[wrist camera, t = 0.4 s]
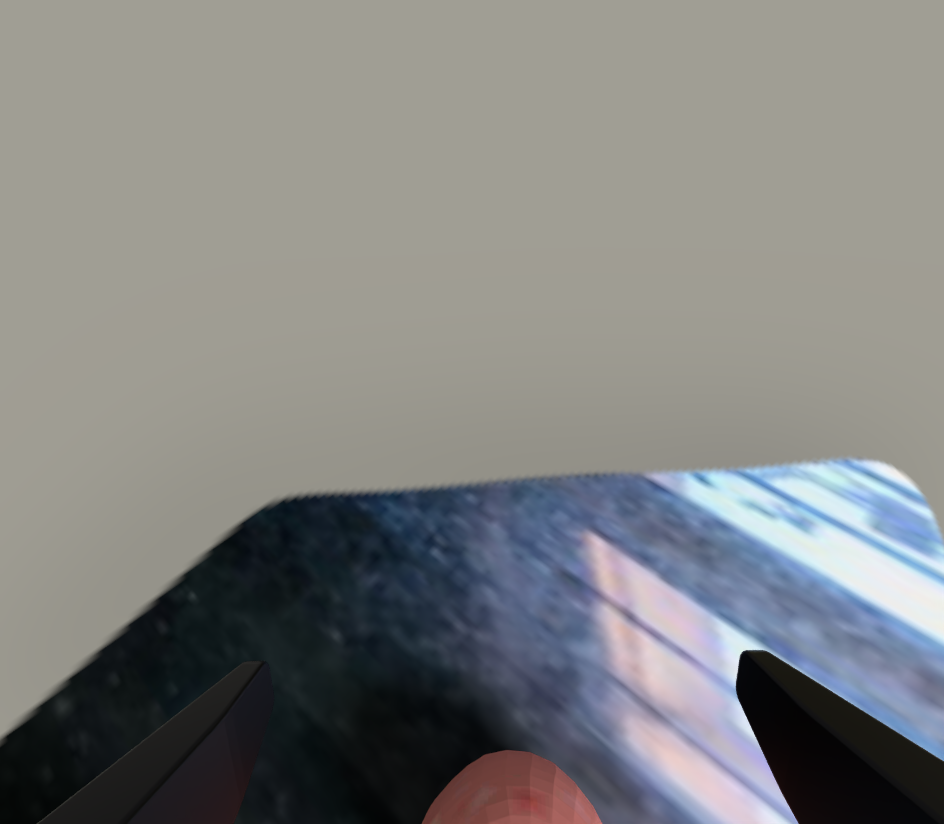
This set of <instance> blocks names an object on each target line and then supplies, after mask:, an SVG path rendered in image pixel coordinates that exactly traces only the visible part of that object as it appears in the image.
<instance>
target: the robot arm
mask: <svg viewBox="0 0 944 824" xmlns="http://www.w3.org/2000/svg"><path fill="white" fill-rule="evenodd" d="M736 692H737V696H738V699H739V702H740V704H741V706H742V708H743V711H744V713H745V715H746V717H747V719H748V721H749V724H750V726H751V728H752V730H753V732H754V734H755V737H756V739H757V741H758V743H759V745H760V747H761V750H762V752H763V754H764V756H765V758H766V760H767V763H768V765H769V767H770V769H771V771H772V773H773V776H774V778H775V780H776V782H777V784H778V786H779V788H780V790H781V792H782V794H783V796H784V798H785V800H786V801H787V803H788V805H789V807H790V809H791V811H792V812H793V814H794V816H795V818H796V820H797V821H798V823H799V824H944V761H942V760H941V759H939V758H938V757H936V756H934V755H933V754H931V753H930V752H928V751H926V750H925V749H923V748H922V747H920V746H918V745H917V744H915V743H913V742H912V741H910V740H909V739H907V738H905V737H904V736H902V735H901V734H899V733H897V732H896V731H894V730H893V729H891V728H889V727H888V726H886V725H885V724H883V723H881V722H880V721H878V720H877V719H875V718H873V717H872V716H870V715H869V714H867V713H865V712H864V711H862V710H861V709H859V708H857V707H856V706H854V705H853V704H851V703H849V702H848V701H846V700H845V699H843V698H841V697H840V696H838V695H837V694H835V693H833V692H832V691H830V690H829V689H827V688H825V687H824V686H822V685H821V684H819V683H817V682H816V681H814V680H813V679H811V678H809V677H808V676H806V675H805V674H803V673H801V672H800V671H798V670H797V669H795V668H793V667H792V666H790V665H789V664H787V663H785V662H784V661H782V660H781V659H779V658H777V657H776V656H774V655H773V654H771V653H769V652H767V651H764V650H746V651H743V652H742V653H741V655H740V659H739V666H738V673H737V680H736ZM273 704H274V692H273V686H272V680H271V674H270V668H269V665H268V663H267V662H265V661H247V662H244V663H242V664H241V665H239V666H238V667H237V668H235V669H234V670H233V671H232V672H230V673H229V674H228V675H226V676H225V677H224V678H223V679H221V680H220V681H219V682H218V683H216V684H215V685H214V686H212V687H211V688H210V689H209V690H207V691H206V692H205V693H203V694H202V695H201V696H200V697H198V698H197V699H196V700H195V701H193V702H192V703H191V704H189V705H188V706H187V707H186V708H184V709H183V710H182V711H180V712H179V713H178V714H177V715H175V716H174V717H173V718H172V719H170V720H169V721H168V722H166V723H165V724H164V725H163V726H161V727H160V728H159V729H157V730H156V731H155V732H154V733H152V734H151V735H150V736H149V737H147V738H146V739H145V740H143V741H142V742H141V743H140V744H138V745H137V746H136V747H134V748H133V749H132V750H131V751H129V752H128V753H127V754H125V755H124V756H123V757H122V758H120V759H119V760H118V761H117V762H115V763H114V764H113V765H111V766H110V767H109V768H108V769H106V770H105V771H104V772H102V773H101V774H100V775H99V776H97V777H96V778H95V779H94V780H92V781H91V782H90V783H88V784H87V785H86V786H85V787H83V788H82V789H81V790H79V791H78V792H77V793H76V794H74V795H73V796H72V797H71V798H69V799H68V800H67V801H65V802H64V803H63V804H62V805H60V806H59V807H58V808H56V809H55V810H54V811H53V812H51V813H50V814H49V815H47V816H46V817H45V818H44V819H42V820H41V821H40V822H39V823H37V824H233V823H234V821H235V818H236V816H237V813H238V811H239V808H240V806H241V803H242V800H243V797H244V795H245V792H246V789H247V786H248V783H249V780H250V777H251V774H252V771H253V767H254V764H255V761H256V758H257V755H258V752H259V749H260V746H261V743H262V740H263V737H264V734H265V731H266V728H267V724H268V721H269V718H270V715H271V712H272V709H273Z"/></svg>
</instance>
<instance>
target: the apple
mask: <svg viewBox="0 0 944 824" xmlns="http://www.w3.org/2000/svg"><path fill="white" fill-rule="evenodd" d="M422 824H602V823H601V821H600V819H599V817H598V815H597V813H596V811H595V809H594V807H593V806H592V804H591V803H590V802H589V800H588V799H587V798H586V797H585V795H584V794H583V793H582V791H581V790H580V789H579V787H578V786H577V785H576V784H575V782H574V781H573V780H572V779H571V778H569V777H568V776H567V775H566V774H565V773H564V772H563V771H562V770H561V769H560V768H558V767H557V766H556V765H555V764H554V763H552V762H551V761H549V760H546V759H544V758H542V757H540V756H537V755H535V754H533V753H531V752H523V751H513V750H504V751H499V752H495V753H490V754H485V755H483V756H482V757H480V758H479V759H477V760H476V761H474V762H472V763H471V764H469V765H468V766H466V767H465V768H464V769H463V770H462V771H461V772H460V773H459V774H458V775H457V776H455V777H454V778H453V779H452V780H451V781H450V782H449V784H448V785H447V786H446V787H445V788H444V789H443V791H442V792H441V793H440V794H439V795H438V797H437V798H436V799H435V800H434V802H433V803H432V804H431V806H430V808H429V810H428V811H427V813H426V816H425V818H424V820H423V822H422Z"/></svg>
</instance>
